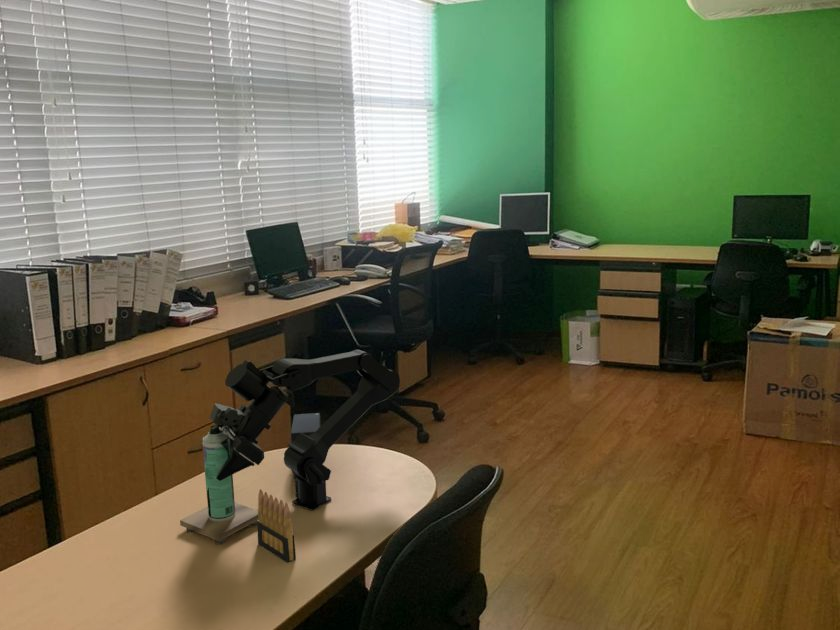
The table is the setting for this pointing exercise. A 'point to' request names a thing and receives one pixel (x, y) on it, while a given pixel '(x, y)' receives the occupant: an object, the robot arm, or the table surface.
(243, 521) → the flat square brown plate
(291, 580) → the table surface
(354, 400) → the robot arm
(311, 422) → the small box
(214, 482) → the spray can
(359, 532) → the table surface
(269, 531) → the ammunition clip
